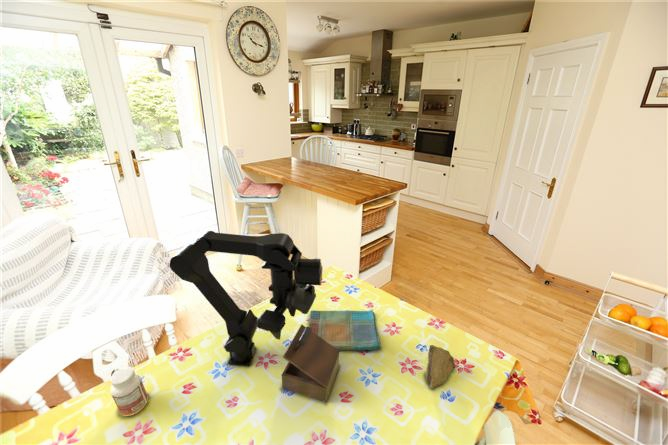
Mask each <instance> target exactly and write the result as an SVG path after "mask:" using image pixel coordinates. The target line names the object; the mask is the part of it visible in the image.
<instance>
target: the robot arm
mask: <svg viewBox="0 0 668 445" xmlns="http://www.w3.org/2000/svg"><path fill="white" fill-rule="evenodd" d="M207 252H213V253H223V254H230V255H231V254H232V255H242V256H252V257H255V258H258V259H259V260H261V261H263V263H262V265H261V269H263V270H269V271H270V282H271V284H270V285H269V286H268V291H269V292H272V293H271V294H272V296H271V298H269V304H271V305H274V306H275V308H274V309H273V310H271V309H265V310H264V311H262V313H261V314H260V315H259V317H258V316H256V315H255V314H254V313H253V311H252V309H248V310H246V309H245V310H244V309H241V308H240V306H238V305H237V303H236V302H235V300H234V299H233V298H232V297H231V296H230V294H229V293H228V292H227V291H226V289H225V288H224V287H223V286H222V285H221V283H220V282H219V281H218V279H217V278H216V277H215V276H214V274H213V273H212V272H211V270H210V266H209V264H210V263H209V259H208V257H207V256H206V253H207ZM290 256H291V257H290ZM302 256H303V252H302V251H300V248H298V247H297V246H296V245H295V243H294V240H293V239H292V237H290V235H289V234H287V233H285V232H284V233H283V232H279V233H278V232H277V233H269V234H265V235H261V236H256V235H255V236H254V235H245V234H244V235H243V234H234V233H225V232H224V233H222V232H216V231H214V230H206V231H204V232H203V233H202V234H201V235H200V236H199V237H198V238H197V239H196V241H195V242H193V244H191V243H190V244H185V246H183V247H182V248H181V249H180V250H179V251H178V252H176V253H175V255H173V256H172V257H171V258H170V260H169V269H170V270H171V271H172V272H173V273H174V274H175V275H176V276H177V277H178V278H179V279H180V280H182V281H185V282H187V283H191V284H193V285H194V286H195V287H196V289H197V290H198V291H199V292H200V293H201V294H202V295H203V297H204V298H205V299H206V300H207V301H208V303H209V304H210V305H211V306H212V308H213V309H214V310H215V311H216V313H218V315H219V316H220V317H221V318H222V320H223V321H224V323H225V326H226V332H227V335H228V336H229V337H228V338H227V340H226V342H225V344H224V345H223V348H224V350H225V351H226V353H228V354H229V359H228V362H227V364H228V365H232V366H233V365H234V366H244V367H246V366H247V367H250V365H251V363H252V360H254V357H255V355H256V353H257V352H256V351H257V347H256V344H255V342H254V340H253V339H254V336H255V333H256V332H257V330H258V329H259V330H263V331H267V332H270V333H271V335H272V336H273V337H274V338H275V339H276V340H279V341H280V340H281V336H282V330H283V329H284V327H285V326H286V324H287V323H286V316H285V312H286V311H287V310H288V313H289V315H290V317H295V316H296V312H297V311H298V312H300V313H301V314H303V315H307V314H308V313H310V311H311V308H312V306H313V304H314V302H315V300H316V298H317V293H316V289H315V286H321V285H322V280H323V265H322V260H321V258H302Z"/></svg>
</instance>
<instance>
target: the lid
mask: <svg viewBox="0 0 668 445" xmlns="http://www.w3.org/2000/svg"><path fill="white" fill-rule="evenodd" d="M340 353H341V350H338V349H336V348H335V347H333V346H332V345H330V344H329V343H328V342H326V341H325V340H323V339H322V338H321V337H319V336H318V335H316V334H315V333H313V332H312V329H311V328H310V327H309V326H305V325H304V324H300V325H299V328H298V330H297V331H296V333H295V335H294V336H293V338H292V340H291V341H290V343H289V344H288V346H287V348H286V350H285V352H284V354H283V355H282V358H283V359H284V360H286V361H287V362H290V363H291V364H293V365H294V366H296V367H297V368H298V369H300V370H301V371H303V372H304V373H305V374H307V375H308V376H310V377H311V378H312V379H314V380H315V381H317V382H318V383H319V384H321V385H322V386H324V387H325V388H326V387H327V385H328V383H329V380H330V377H331V374H332V372H333V369H334V366H335V363H336V361H337V358H338V355H339V356H340Z"/></svg>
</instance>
